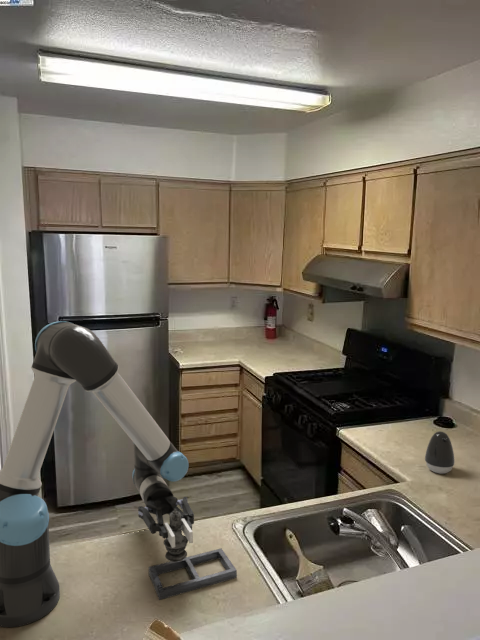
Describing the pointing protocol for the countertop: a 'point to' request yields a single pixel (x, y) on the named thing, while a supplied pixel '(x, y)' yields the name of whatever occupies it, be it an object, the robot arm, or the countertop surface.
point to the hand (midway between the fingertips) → (182, 539)
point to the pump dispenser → (440, 453)
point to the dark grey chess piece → (176, 539)
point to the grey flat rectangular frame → (191, 573)
